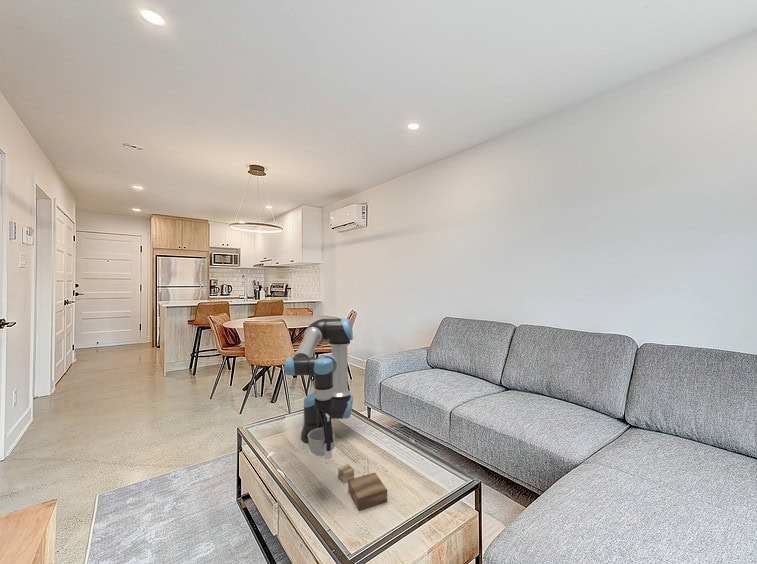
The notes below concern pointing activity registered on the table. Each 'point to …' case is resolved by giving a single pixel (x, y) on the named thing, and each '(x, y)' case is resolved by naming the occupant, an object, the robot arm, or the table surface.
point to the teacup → (318, 441)
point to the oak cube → (345, 473)
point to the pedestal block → (367, 491)
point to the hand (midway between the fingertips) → (324, 450)
